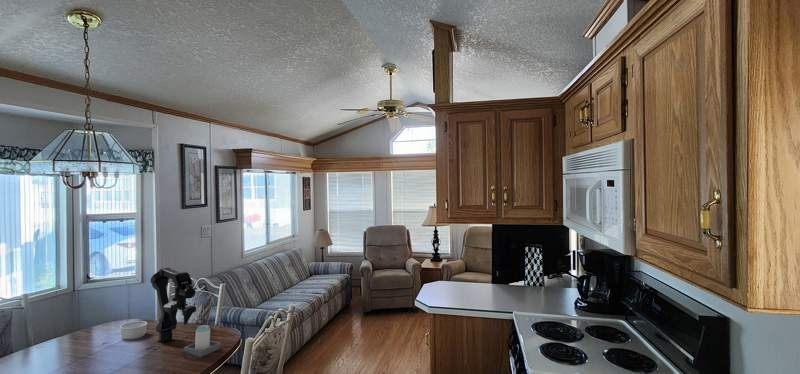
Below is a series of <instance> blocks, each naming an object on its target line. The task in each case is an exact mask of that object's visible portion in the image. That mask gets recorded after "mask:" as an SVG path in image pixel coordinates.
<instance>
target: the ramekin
mask: <svg viewBox="0 0 800 374" xmlns="http://www.w3.org/2000/svg"><path fill="white" fill-rule="evenodd" d="M147 326H148V322H147V321H144V320H135V321H129V322H125V323H122V324H121V325H120V327H119V330H120V336H121V339H123V340H135V339H139V338H142V337H143V336H145V334H146V333H147Z"/></svg>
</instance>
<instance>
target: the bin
mask: <svg viewBox="0 0 800 374" xmlns="http://www.w3.org/2000/svg"><path fill="white" fill-rule="evenodd" d="M221 344H222V342H218V341H214V340H210V346H209V348H206V349H204V350H202V351H201V350H197V349H195V342H193V343H191V344H189V345H186V346H184V347H183V354H187V355H190V356H194V357H199V358H203V357H205V356H207V355H209V354H211V353H214V352H215V351H219V350H220V349H221Z"/></svg>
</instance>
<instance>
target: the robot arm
mask: <svg viewBox="0 0 800 374" xmlns="http://www.w3.org/2000/svg"><path fill="white" fill-rule="evenodd" d="M170 279H171V280H172V283H174V284H173V287H174V297H172V299H171V301H170V300H169V295H168V291H167V290H168V289H167V287H168V285H169V280H170ZM150 283H151V286H152V288H153V289H154V290H155V291H156V294H157V295H156V296H157V299H158V304H159V309H160V310H159V311H160V317H159V320H158V324H157V325H156V327H155V331H156V332H157V333H159V337H158V338H159V339H158V340H156V342H157V343H161V344H167V343H169V342H172V341H174V340H175V338H173V330H175V329H176V328H177V324H178V320H177V314H178V310H179V311H181V312H182V313H181V315H182V316H183V324H184V326H185V325H187V324H188V322H189V320H190V318H191V316H192V315H193V314H194V313H195V312H196V311H197V306H195V305H189V304H188V303H187V299H192V298H194V297H195V295H196V292H197V291H196V289H195V288H194V287H193V280H192V279H191V275H190V274H189V272H187V271H177V270H174V269H171V268H170V267H164V268H163V267H162V268H161V269H159V270H158V271H157V272H156V273H154V274H153V275H152V276H151V277H150Z"/></svg>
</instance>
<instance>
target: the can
mask: <svg viewBox="0 0 800 374" xmlns="http://www.w3.org/2000/svg"><path fill="white" fill-rule="evenodd" d="M194 341H195V342H194V343H195V349H197V350H201V351H202V350H204V349H206V348H209V346H210V341H211V328H210V326H209V325H208V324H202V325H198V326H197V328H196V330H195V338H194Z"/></svg>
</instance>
